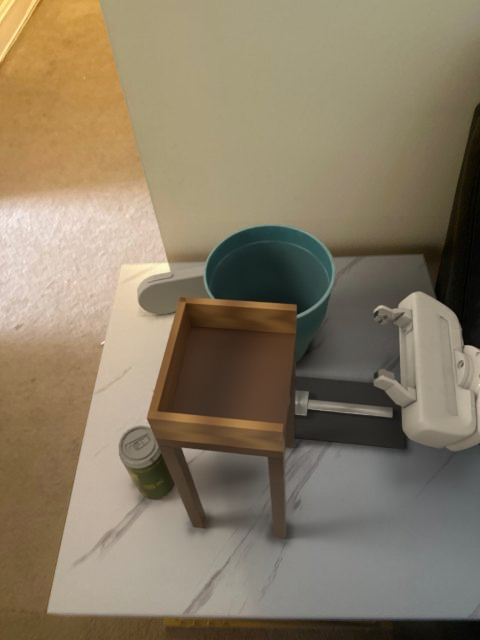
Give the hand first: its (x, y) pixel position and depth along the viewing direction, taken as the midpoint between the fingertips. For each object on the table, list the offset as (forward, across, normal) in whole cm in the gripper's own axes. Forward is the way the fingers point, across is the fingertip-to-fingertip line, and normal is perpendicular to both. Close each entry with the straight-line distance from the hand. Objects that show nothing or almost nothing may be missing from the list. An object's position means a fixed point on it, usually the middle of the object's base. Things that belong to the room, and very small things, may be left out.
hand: (376, 343), depth 67 cm
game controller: (+15, -18, +29) cm, 37 cm away
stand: (+4, +12, +23) cm, 26 cm away
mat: (-4, 0, +18) cm, 18 cm away
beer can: (+15, +13, +29) cm, 35 cm away
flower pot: (+3, -12, +23) cm, 26 cm away
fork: (-4, 0, +17) cm, 18 cm away
